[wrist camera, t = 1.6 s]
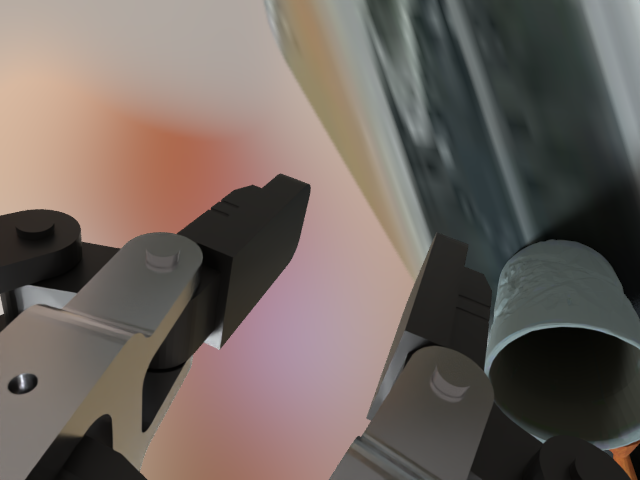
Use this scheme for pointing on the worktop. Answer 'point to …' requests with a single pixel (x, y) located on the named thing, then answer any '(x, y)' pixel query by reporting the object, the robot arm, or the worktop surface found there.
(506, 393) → the grey green cup
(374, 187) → the worktop surface
